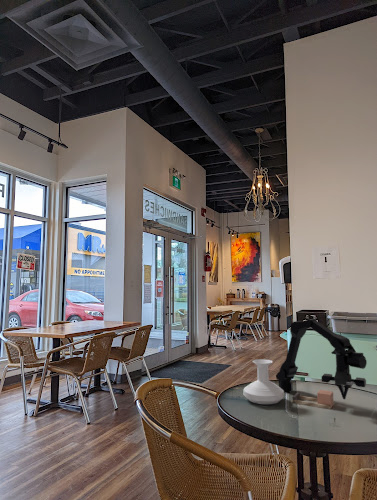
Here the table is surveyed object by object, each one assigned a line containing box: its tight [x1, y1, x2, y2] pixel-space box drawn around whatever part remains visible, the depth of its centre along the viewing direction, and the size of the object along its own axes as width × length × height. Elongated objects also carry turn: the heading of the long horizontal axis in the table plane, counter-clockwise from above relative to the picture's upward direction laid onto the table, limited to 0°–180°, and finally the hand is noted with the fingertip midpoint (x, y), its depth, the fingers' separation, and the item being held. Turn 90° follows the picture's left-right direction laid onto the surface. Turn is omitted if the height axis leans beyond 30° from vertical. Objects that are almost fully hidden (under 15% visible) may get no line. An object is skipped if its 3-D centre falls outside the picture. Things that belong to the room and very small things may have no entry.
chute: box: [291, 391, 332, 410], centre depth 177 cm, size 18×9×3 cm, turn 57°
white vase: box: [242, 358, 285, 405], centre depth 182 cm, size 20×20×19 cm
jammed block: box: [316, 389, 335, 409], centre depth 174 cm, size 6×6×6 cm
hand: (344, 399), depth 169 cm, fingers closed
